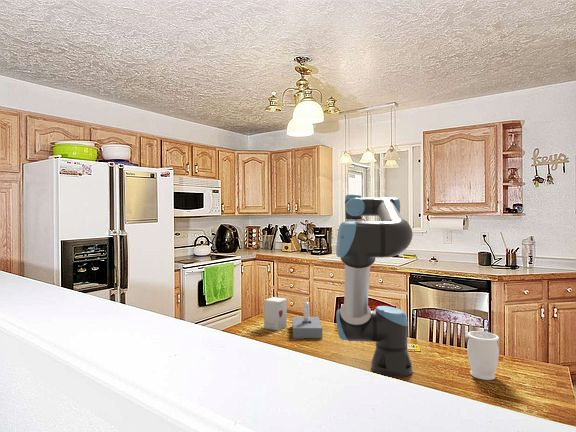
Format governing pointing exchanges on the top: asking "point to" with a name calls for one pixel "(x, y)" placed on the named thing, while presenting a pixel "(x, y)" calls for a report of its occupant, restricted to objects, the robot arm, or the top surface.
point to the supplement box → (275, 313)
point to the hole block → (306, 328)
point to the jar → (483, 354)
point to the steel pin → (306, 312)
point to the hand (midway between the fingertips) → (353, 276)
